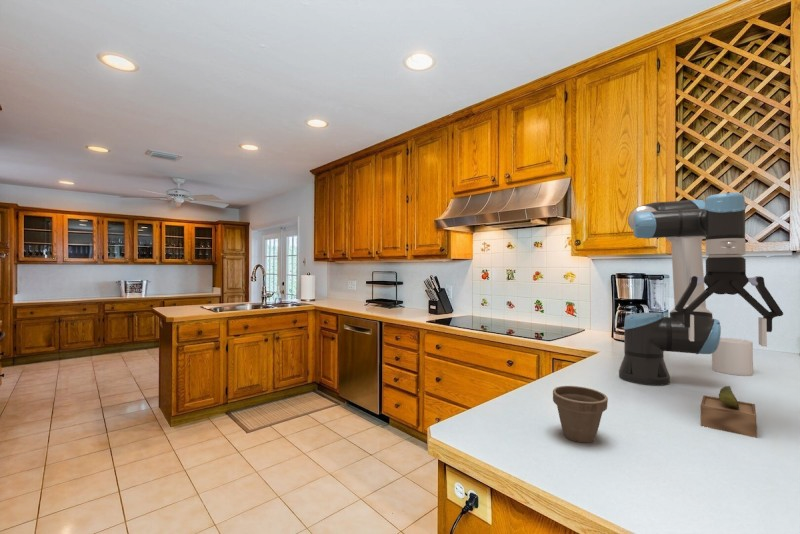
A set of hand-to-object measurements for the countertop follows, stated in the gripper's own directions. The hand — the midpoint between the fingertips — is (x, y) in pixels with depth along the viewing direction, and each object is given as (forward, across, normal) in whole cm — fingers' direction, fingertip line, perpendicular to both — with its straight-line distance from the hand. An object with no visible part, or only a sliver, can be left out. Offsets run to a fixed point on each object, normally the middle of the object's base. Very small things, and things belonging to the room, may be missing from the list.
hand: (725, 343), depth 94 cm
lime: (+16, +1, 0) cm, 16 cm away
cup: (+21, +15, +67) cm, 71 cm away
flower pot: (+20, -31, -25) cm, 45 cm away
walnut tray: (+21, 0, 0) cm, 21 cm away
